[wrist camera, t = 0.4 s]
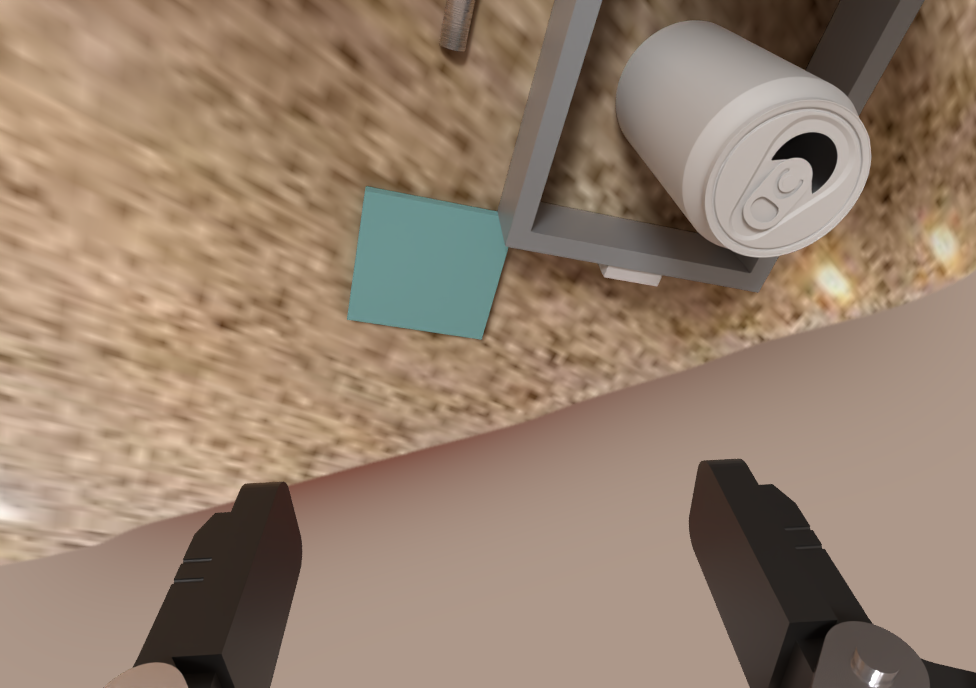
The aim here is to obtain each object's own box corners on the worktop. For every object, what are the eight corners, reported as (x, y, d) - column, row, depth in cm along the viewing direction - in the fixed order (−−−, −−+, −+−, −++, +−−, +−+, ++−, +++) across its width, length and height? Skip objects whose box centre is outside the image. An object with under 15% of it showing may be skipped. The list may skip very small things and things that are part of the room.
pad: (365, 186, 33) (365, 190, 32) (515, 214, 34) (516, 219, 34) (347, 313, 37) (347, 319, 37) (480, 333, 39) (481, 339, 38)
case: (614, -222, 24) (644, -236, 21) (920, -114, 27) (987, -112, 24) (493, 224, 35) (501, 260, 31) (722, 268, 38) (751, 304, 34)
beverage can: (767, 69, 31) (924, 158, 21) (675, 176, 34) (776, 296, 24) (675, -15, 28) (805, 43, 19) (584, 108, 31) (656, 213, 22)
